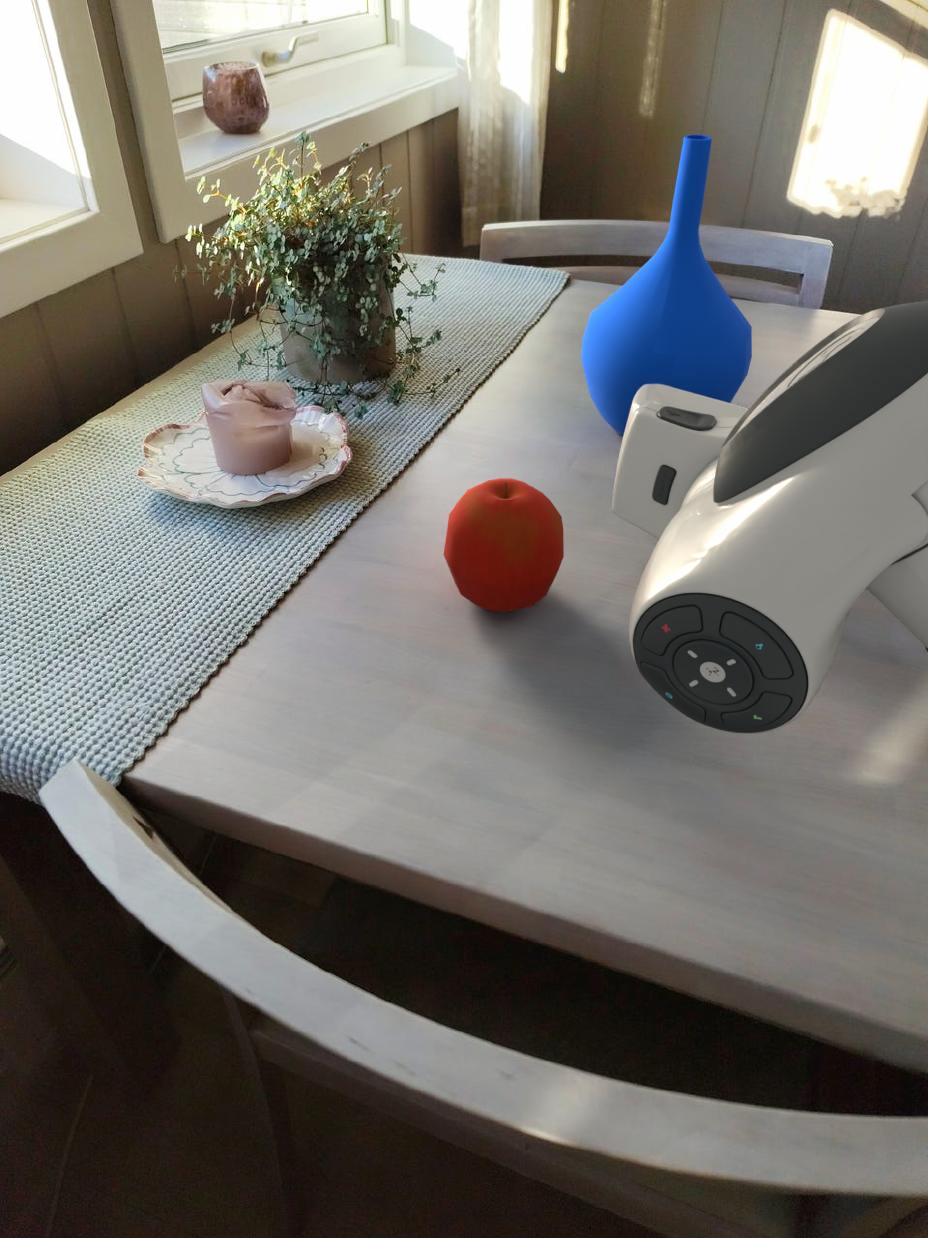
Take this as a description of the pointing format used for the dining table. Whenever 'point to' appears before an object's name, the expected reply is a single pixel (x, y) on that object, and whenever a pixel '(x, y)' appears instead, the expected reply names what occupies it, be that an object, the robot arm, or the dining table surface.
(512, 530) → the apple
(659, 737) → the dining table surface
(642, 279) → the vase
